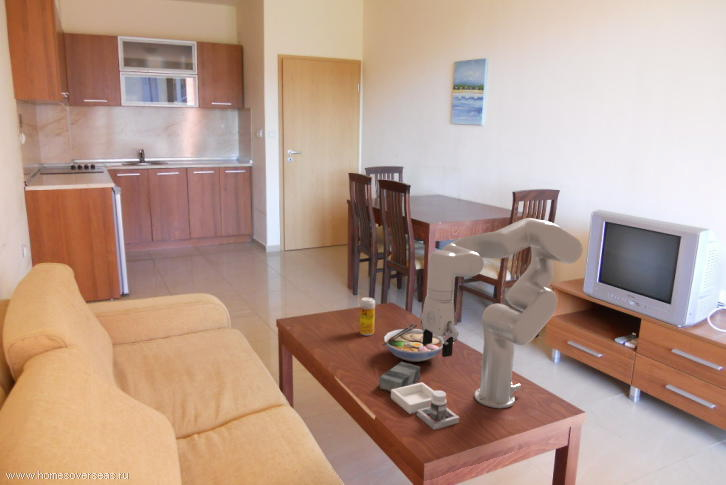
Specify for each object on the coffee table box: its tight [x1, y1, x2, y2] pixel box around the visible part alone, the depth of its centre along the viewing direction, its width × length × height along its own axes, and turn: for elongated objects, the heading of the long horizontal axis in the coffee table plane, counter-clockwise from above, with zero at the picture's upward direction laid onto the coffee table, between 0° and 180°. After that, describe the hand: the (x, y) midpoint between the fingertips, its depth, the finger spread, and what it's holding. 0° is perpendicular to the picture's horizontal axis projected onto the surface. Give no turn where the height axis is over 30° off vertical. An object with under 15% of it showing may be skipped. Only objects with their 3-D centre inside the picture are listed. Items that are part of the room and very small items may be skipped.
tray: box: [390, 381, 435, 415], centre depth 174 cm, size 12×11×3 cm
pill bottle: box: [429, 389, 448, 422], centre depth 164 cm, size 5×5×8 cm
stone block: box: [378, 361, 421, 394], centre depth 186 cm, size 9×14×5 cm, turn 146°
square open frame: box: [416, 407, 460, 431], centre depth 165 cm, size 9×9×2 cm
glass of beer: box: [359, 296, 376, 337], centre depth 229 cm, size 6×6×15 cm
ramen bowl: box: [382, 323, 444, 363], centre depth 207 cm, size 25×23×8 cm
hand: (436, 349), depth 162 cm, fingers open, 9 cm apart
